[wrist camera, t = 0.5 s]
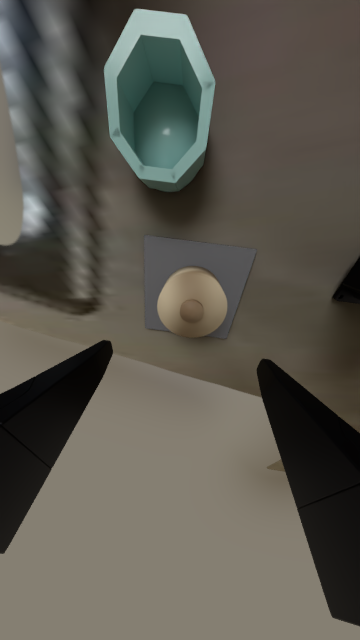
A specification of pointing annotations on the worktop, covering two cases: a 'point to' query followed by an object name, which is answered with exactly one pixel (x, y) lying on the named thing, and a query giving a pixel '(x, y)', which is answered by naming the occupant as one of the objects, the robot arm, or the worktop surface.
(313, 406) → the robot arm
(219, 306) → the lid
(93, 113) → the worktop surface
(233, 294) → the mat
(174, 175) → the bowl
